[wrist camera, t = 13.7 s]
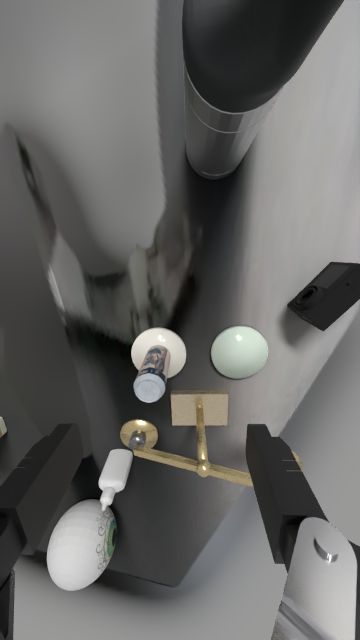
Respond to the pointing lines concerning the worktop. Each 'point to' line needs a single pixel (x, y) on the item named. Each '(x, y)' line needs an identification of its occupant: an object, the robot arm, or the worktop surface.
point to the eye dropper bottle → (114, 475)
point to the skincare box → (2, 427)
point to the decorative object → (81, 545)
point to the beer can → (153, 374)
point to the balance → (188, 411)
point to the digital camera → (328, 294)
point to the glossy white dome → (164, 339)
